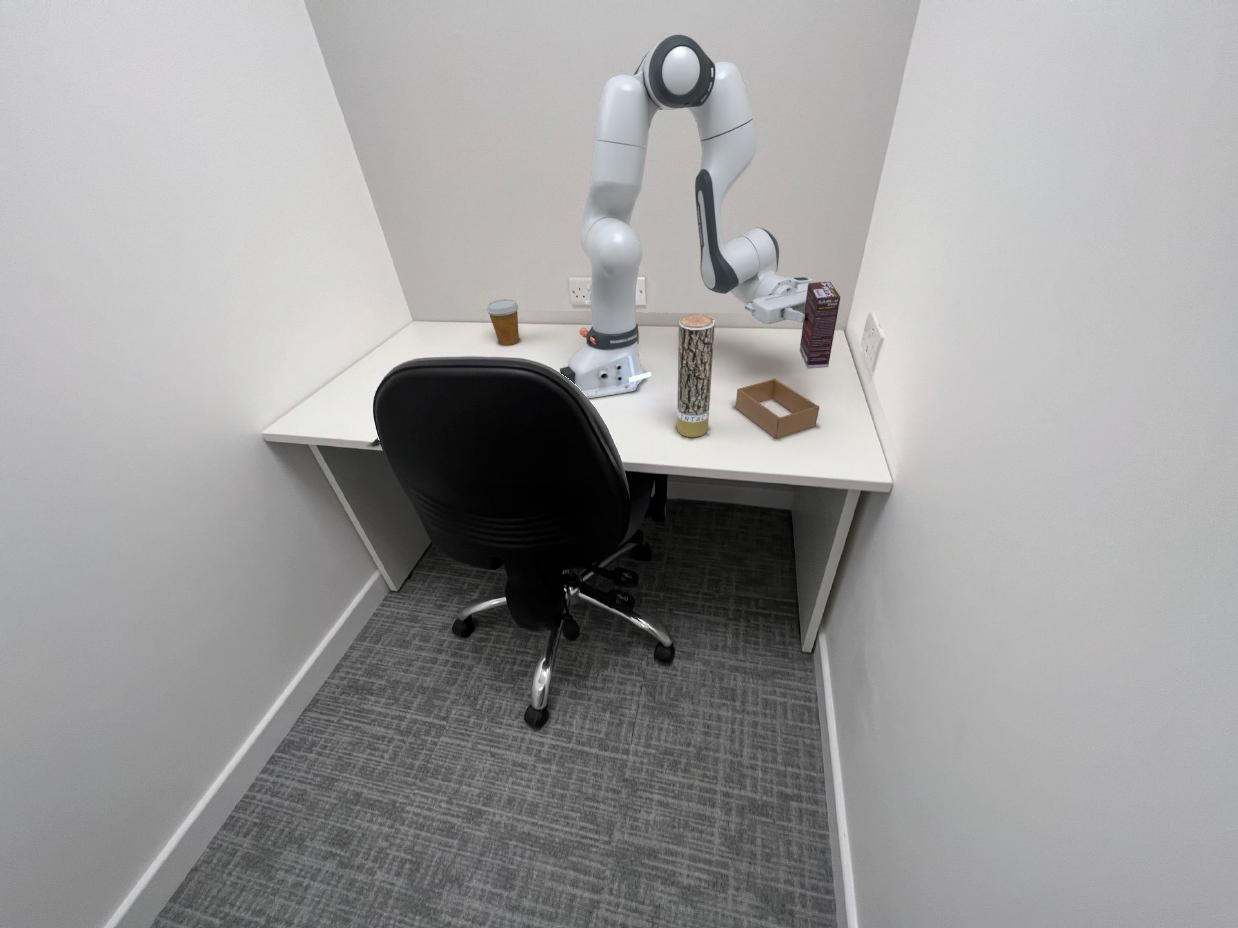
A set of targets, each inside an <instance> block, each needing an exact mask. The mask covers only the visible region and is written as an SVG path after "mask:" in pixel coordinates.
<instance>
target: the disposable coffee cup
mask: <svg viewBox="0 0 1238 928" xmlns="http://www.w3.org/2000/svg"><path fill="white" fill-rule="evenodd" d="M486 306H487V307H486V312H487V314H488V315H489V319H490V322H491V324H492V327H493V330H494V332H495V335H496V338H497V341H498V344H499V345H501V346H512V345H515V344H517V343H519V341H520V335H519V333H520V332H519V317H518V316H519V314H518V309H519V305H518V304H517V301H516V300H514V299H510V298H503V299H496V300H493V301H490V302H488V304H487V305H486Z"/></svg>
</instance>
